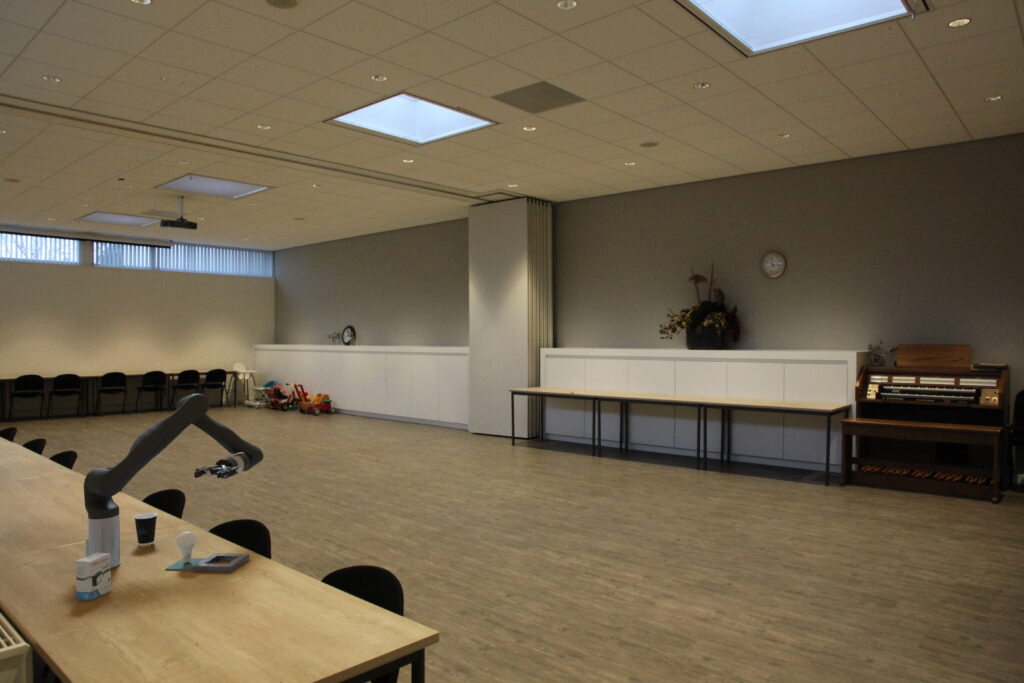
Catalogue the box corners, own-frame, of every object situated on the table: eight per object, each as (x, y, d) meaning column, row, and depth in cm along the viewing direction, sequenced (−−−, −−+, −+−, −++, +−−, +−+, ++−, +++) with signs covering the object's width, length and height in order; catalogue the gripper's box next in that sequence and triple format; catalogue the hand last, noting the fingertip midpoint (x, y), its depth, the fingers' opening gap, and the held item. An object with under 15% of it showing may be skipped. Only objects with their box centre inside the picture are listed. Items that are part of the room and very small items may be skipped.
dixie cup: (155, 539, 264) (154, 511, 264) (160, 544, 258) (159, 515, 257) (132, 544, 259) (131, 515, 259) (136, 548, 253) (136, 519, 252)
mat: (165, 570, 229) (165, 568, 229) (184, 559, 240) (184, 557, 240) (190, 570, 228) (190, 569, 228) (208, 559, 239) (208, 558, 239)
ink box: (89, 601, 203) (89, 561, 203) (75, 600, 204) (75, 560, 204) (112, 590, 211) (111, 552, 211) (98, 589, 212) (97, 551, 212)
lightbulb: (181, 560, 237) (180, 529, 237) (200, 559, 238) (199, 528, 238) (173, 566, 231) (173, 534, 231) (193, 565, 232) (192, 533, 231)
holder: (193, 571, 227) (193, 565, 227) (214, 558, 240) (214, 553, 240) (230, 572, 226) (230, 566, 226) (249, 559, 239) (249, 554, 239)
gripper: (211, 456, 264) (187, 464, 248) (247, 456, 262) (225, 465, 246) (212, 476, 264) (188, 485, 248) (247, 476, 263) (225, 485, 246)
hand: (206, 475), depth 247 cm, fingers open, 8 cm apart
